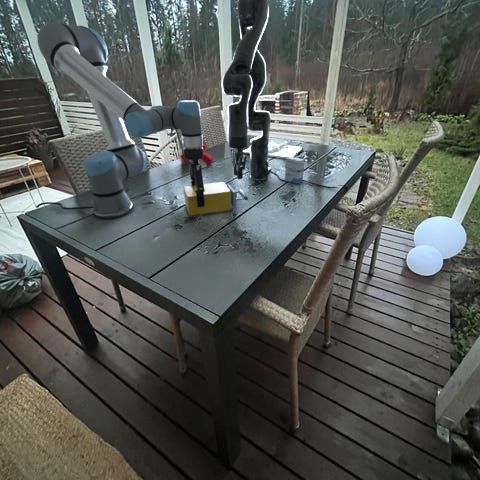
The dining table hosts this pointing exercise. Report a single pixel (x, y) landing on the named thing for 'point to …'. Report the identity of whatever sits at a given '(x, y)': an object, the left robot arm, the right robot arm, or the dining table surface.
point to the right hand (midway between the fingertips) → (238, 176)
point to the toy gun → (207, 158)
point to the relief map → (280, 150)
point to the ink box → (294, 170)
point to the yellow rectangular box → (208, 199)
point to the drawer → (233, 195)
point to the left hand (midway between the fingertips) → (198, 200)
